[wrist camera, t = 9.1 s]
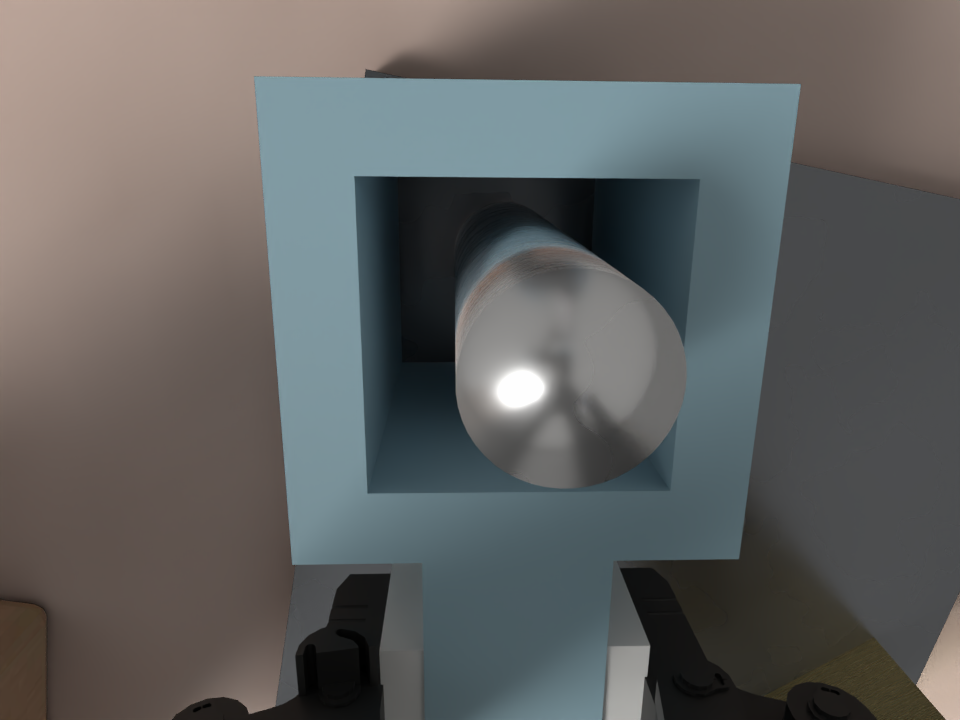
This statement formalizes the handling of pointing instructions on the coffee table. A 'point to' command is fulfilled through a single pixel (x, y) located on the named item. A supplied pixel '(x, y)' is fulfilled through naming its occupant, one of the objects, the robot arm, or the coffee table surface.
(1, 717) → the wooden block
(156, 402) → the coffee table surface
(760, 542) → the plate
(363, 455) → the link
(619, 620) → the robot arm
